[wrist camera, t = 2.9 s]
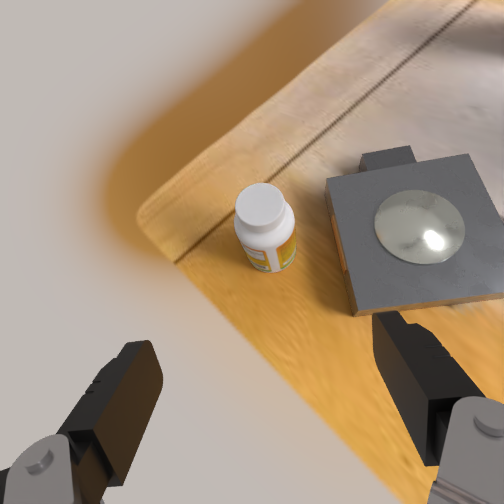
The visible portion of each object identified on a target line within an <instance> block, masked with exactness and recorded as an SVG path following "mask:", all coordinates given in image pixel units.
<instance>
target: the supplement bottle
mask: <svg viewBox="0 0 504 504" xmlns="http://www.w3.org/2000/svg"><path fill="white" fill-rule="evenodd" d="M235 210H236V214H235V218H234V228H235V231H236V234H237V236H238V238H239V240H240V242H241V244H242V247H243V249H244V251H245V253H246V255H247V257H248V259H249V261H250V262H251V264H252V265H253V266H254V267H255V268H257V269H258V270H260V271H263V272H268V273H274V272H278V271H281V270H283V269H285V268H286V267H288V266H289V265H290V264H291V263H292V261H293V260H294V257H295V255H296V232H295V218H294V214H293V211H292V209H291V207H290V205H289V204H288V203H287V202H286V201H285V200H284V197H283V195H282V193H281V191H280V190H279V189H278V188H276V187H275V186H273V185H271V184H267V183H257V184H253V185H250V186H248V187H247V188H245V189H244V190H243V191H242V192H241V193H240V194H239V195H238V197H237V199H236V203H235Z"/></svg>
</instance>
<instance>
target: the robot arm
mask: <svg viewBox="0 0 504 504" xmlns="http://www.w3.org/2000/svg"><path fill="white" fill-rule="evenodd" d="M372 332H373V352H374V358H375V361H376V365H377V367H378V369H379V372H380V374H381V376H382V378H383V380H384V382H385V384H386V386H387V388H388V390H389V392H390V395H391V397H392V399H393V401H394V403H395V405H396V407H397V409H398V411H399V413H400V415H401V417H402V420H403V422H404V424H405V426H406V428H407V430H408V432H409V434H410V436H411V438H412V440H413V443H414V445H415V447H416V449H417V451H418V453H419V455H420V457H421V459H422V461H423V463H424V465H425V466H439V470H438V474H437V478H436V481H433V484H432V487H431V490H430V494H429V498H428V502H427V504H504V404H502V403H500V402H497V401H495V400H492V399H488V398H486V396H485V395H484V394H483V393H482V392H481V391H480V389H479V388H478V387H477V386H476V385H475V383H474V382H473V381H472V380H471V379H470V377H469V376H468V375H467V374H466V373H465V371H464V370H463V369H462V368H461V367H460V365H459V364H458V363H457V362H456V361H455V359H454V358H453V357H451V356H450V354H449V352H448V351H447V350H446V349H445V348H444V347H442V344H441V343H440V342H439V340H438V339H437V338H436V337H435V336H434V334H433V333H432V332H430V331H429V330H427V329H425V328H424V327H422V326H421V325H419V324H417V323H415V324H407V323H406V321H405V320H404V319H403V317H402V316H401V315H400V313H399V312H398V311H397V310H393V311H385V312H376V313H373V314H372ZM162 386H163V374H162V370H161V367H160V365H159V362H158V360H157V357H156V354H155V351H154V348H153V346H152V343H151V342H150V341H149V340H144V341H135V342H128V343H126V344H125V346H124V347H123V349H122V350H121V352H120V353H119V355H118V356H117V358H113V359H112V360H111V361H110V362H109V363H108V364H106V365H105V366H104V367H103V368H102V369H101V370H100V371H99V373H98V374H97V376H96V377H95V379H94V380H93V383H92V384H90V386H89V387H88V389H87V390H86V391H85V394H84V395H83V396H82V397H81V399H80V400H79V401H78V403H77V404H76V406H75V407H74V409H73V410H72V412H71V413H70V414H69V416H68V417H67V419H66V420H65V422H64V423H63V425H62V426H61V427H60V429H59V430H58V432H57V433H56V434H55V435H51V436H48V437H45V438H43V439H41V440H39V441H37V442H36V443H34V444H33V445H32V446H30V447H29V448H28V449H26V450H25V451H24V452H23V453H22V454H21V455H20V456H19V457H18V458H17V459H16V461H15V462H14V463H13V465H12V466H11V467H10V468H7V469H5V470H2V471H0V504H104V501H103V499H102V496H103V494H104V492H105V490H106V488H107V487H115V486H123V483H124V481H125V479H126V476H127V474H128V471H129V469H130V466H131V464H132V462H133V459H134V457H135V454H136V452H137V449H138V447H139V444H140V441H141V439H142V437H143V434H144V432H145V430H146V427H147V424H148V422H149V420H150V417H151V415H152V412H153V410H154V407H155V405H156V402H157V400H158V397H159V395H160V393H161V390H162Z"/></svg>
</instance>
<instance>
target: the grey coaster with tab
mask: <svg viewBox="0 0 504 504" xmlns="http://www.w3.org/2000/svg"><path fill="white" fill-rule="evenodd" d="M359 169H360V173H355V174H349V175H344V176H338V177H332V178H327V179H326V187H325V198H326V202H327V206H328V211H329V215H330V219H331V224H332V228H333V232H334V237H335V241H336V245H337V250H338V254H339V258H340V262H341V267H342V271H343V275H344V280H345V284H346V288H347V293H348V297H349V301H350V306H351V310H352V314H353V317H358V316H366V315H372V314H373V313H376V312H385V311H393V310H397V311H406V310H414V309H422V308H430V307H438V306H446V305H454V304H462V303H470V302H478V301H486V300H494V299H502V298H504V224H503V222H502V220H501V218H500V216H499V214H498V212H497V210H496V208H495V206H494V204H493V202H492V200H491V198H490V196H489V194H488V192H487V190H486V188H485V186H484V184H483V182H482V180H481V178H480V176H479V174H478V172H477V170H476V168H475V166H474V164H473V162H472V160H471V158H470V156H469V154H462V155H456V156H451V157H445V158H440V159H434V160H428V161H423V162H416V160H415V157H414V155H413V152H412V150H411V147H410V145H409V146H404V147H398V148H393V149H387V150H382V151H376V152H371V153H365V154H362V157H361V161H360V165H359Z"/></svg>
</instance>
